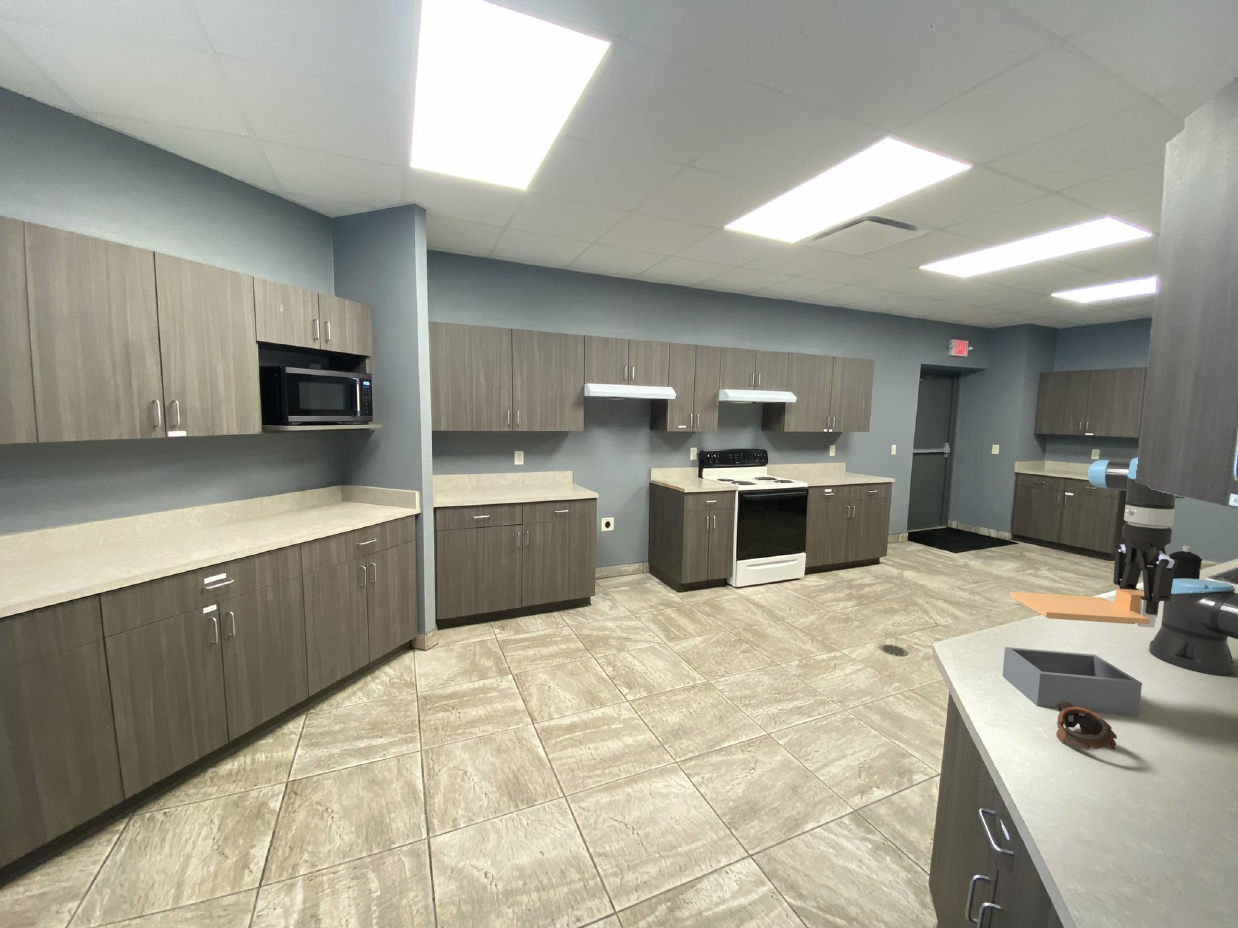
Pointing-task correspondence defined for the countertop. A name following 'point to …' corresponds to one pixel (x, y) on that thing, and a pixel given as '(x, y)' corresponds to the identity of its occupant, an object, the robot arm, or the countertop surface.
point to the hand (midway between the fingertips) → (1136, 621)
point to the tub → (1071, 680)
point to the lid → (1087, 606)
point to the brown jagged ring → (1083, 728)
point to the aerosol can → (1186, 564)
